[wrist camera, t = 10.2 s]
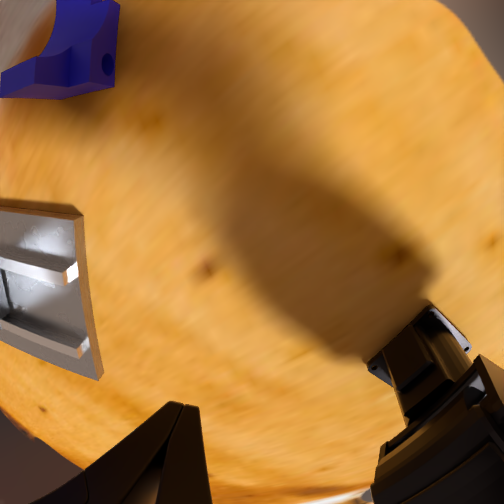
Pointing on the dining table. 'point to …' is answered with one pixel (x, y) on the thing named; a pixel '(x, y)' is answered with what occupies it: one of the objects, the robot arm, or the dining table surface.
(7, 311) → the metal angle bracket
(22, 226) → the rail base
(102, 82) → the blue saddle bracket
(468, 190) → the dining table surface
